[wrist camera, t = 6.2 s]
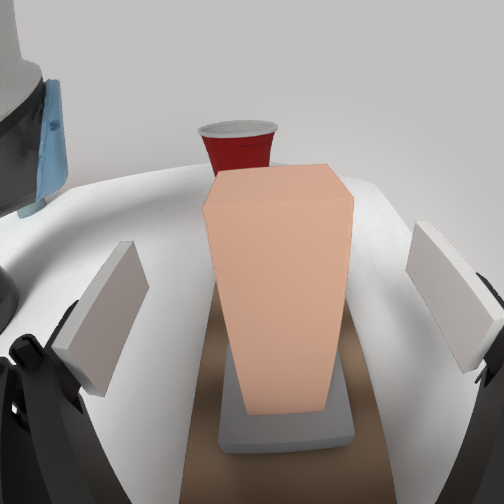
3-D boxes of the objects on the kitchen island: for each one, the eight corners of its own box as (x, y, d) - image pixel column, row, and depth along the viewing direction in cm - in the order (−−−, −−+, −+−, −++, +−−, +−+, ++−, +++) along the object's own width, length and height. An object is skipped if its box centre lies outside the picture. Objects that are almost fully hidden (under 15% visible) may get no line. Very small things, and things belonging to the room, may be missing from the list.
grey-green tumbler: (11, 221, 55) (-3, 179, 48) (32, 205, 63) (20, 165, 57) (34, 216, 54) (19, 169, 48) (56, 199, 62) (44, 156, 56)
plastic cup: (249, 228, 36) (239, 130, 30) (194, 211, 43) (180, 131, 36) (297, 199, 43) (294, 118, 36) (243, 187, 49) (236, 118, 43)
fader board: (384, 512, 9) (397, 507, 8) (189, 523, 9) (176, 520, 8) (320, 247, 31) (321, 229, 30) (227, 253, 32) (224, 236, 30)
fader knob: (349, 445, 11) (430, 225, 5) (223, 453, 11) (129, 245, 5) (332, 354, 16) (350, 153, 10) (231, 360, 17) (191, 164, 11)
